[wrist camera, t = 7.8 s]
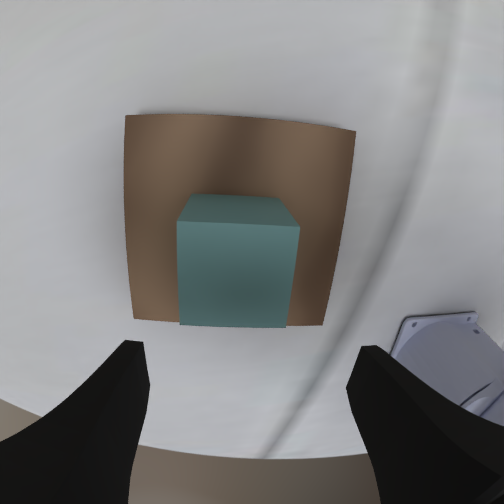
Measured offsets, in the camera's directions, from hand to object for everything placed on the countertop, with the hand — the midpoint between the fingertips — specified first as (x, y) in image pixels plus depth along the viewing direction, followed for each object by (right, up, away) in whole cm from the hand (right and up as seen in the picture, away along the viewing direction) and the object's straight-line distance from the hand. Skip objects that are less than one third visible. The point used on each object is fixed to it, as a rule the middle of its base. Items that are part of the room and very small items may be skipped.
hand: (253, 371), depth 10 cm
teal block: (-1, +5, +7) cm, 8 cm away
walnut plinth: (-1, +6, +9) cm, 11 cm away
